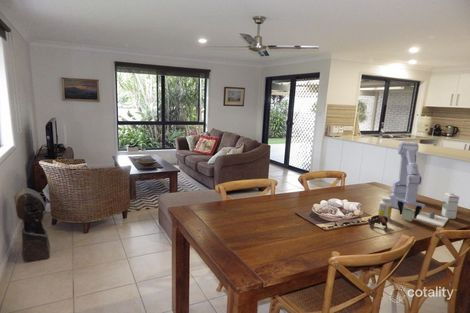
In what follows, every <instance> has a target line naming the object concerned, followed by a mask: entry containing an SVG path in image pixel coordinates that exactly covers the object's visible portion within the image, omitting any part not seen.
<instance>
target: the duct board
mask: <svg viewBox="0 0 470 313" xmlns="http://www.w3.org/2000/svg"><path fill="white" fill-rule="evenodd" d="M414 220H415V221H419V222H422V223H425V224H426V223H427V224H430V225H433V226H437V227H441V228H443V227H444V226H445V224H447V222H448V220H449V218H446V217H444V216H443V215H438V214H436V212H435V211H430V212H425V211H422V210H420V211H419V213H418V215H417V217H416V219H415V218H414Z"/></svg>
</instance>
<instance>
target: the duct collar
mask: <svg viewBox="0 0 470 313" xmlns="http://www.w3.org/2000/svg"><path fill="white" fill-rule="evenodd" d="M414 216H415V209H412V208H409V207H407V208H404V209H403V211H402V214H401V220H404V221H407V222H413V220H414V219H415V218H414Z"/></svg>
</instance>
